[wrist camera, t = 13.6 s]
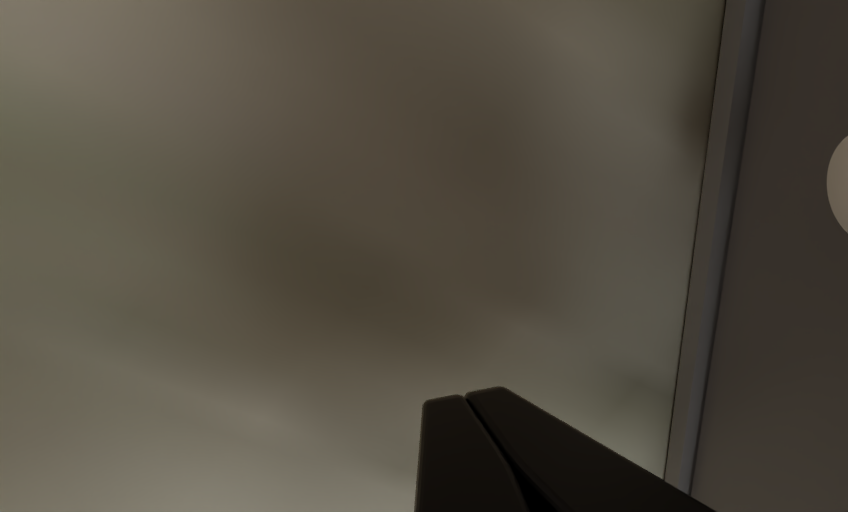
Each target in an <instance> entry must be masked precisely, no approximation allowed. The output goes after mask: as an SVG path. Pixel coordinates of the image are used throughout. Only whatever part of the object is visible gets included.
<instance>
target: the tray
mask: <svg viewBox="0 0 848 512" xmlns="http://www.w3.org/2000/svg"><path fill="white" fill-rule="evenodd" d="M691 497H693V498H695V499H696V500H698V501H700V502H702V503H703V504H705V505H707V506H708V507H710V508H712V509H714V510H715V511H717V512H848V0H766V3H765V10H764V17H763V23H762V30H761V36H760V43H759V50H758V56H757V63H756V69H755V76H754V83H753V89H752V96H751V102H750V109H749V116H748V122H747V129H746V135H745V142H744V149H743V155H742V162H741V168H740V175H739V182H738V188H737V195H736V201H735V208H734V215H733V221H732V228H731V234H730V241H729V248H728V254H727V261H726V267H725V274H724V281H723V287H722V294H721V300H720V307H719V314H718V320H717V327H716V333H715V340H714V347H713V353H712V360H711V366H710V373H709V380H708V386H707V393H706V399H705V406H704V413H703V419H702V426H701V432H700V439H699V446H698V452H697V459H696V465H695V472H694V479H693V485H692V492H691Z"/></svg>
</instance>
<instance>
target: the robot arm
mask: <svg viewBox="0 0 848 512" xmlns="http://www.w3.org/2000/svg"><path fill="white" fill-rule="evenodd" d="M414 512H717V511H715V510H714V509H712V508H710V507H708V506H707V505H705V504H703V503H702V502H700V501H698V500H696V499H695V498H693V497H691V496H690V495H688V494H686V493H684V492H683V491H681V490H679V489H678V488H676V487H674V486H673V485H671V484H669V483H667V482H666V481H664V480H662V479H661V478H659V477H657V476H655V475H654V474H652V473H650V472H649V471H647V470H645V469H643V468H642V467H640V466H638V465H637V464H635V463H633V462H632V461H630V460H628V459H626V458H625V457H623V456H621V455H620V454H618V453H616V452H614V451H613V450H611V449H609V448H608V447H606V446H604V445H603V444H601V443H599V442H597V441H596V440H594V439H592V438H591V437H589V436H587V435H585V434H584V433H582V432H580V431H579V430H577V429H575V428H573V427H572V426H570V425H568V424H567V423H565V422H563V421H562V420H560V419H558V418H556V417H555V416H553V415H551V414H550V413H548V412H546V411H544V410H543V409H541V408H539V407H538V406H536V405H534V404H533V403H531V402H529V401H527V400H526V399H524V398H522V397H521V396H519V395H517V394H515V393H514V392H512V391H510V390H509V389H507V388H504V387H492V388H487V389H482V390H476V391H471V392H468V393H467V394H466V395H465V396H464V397H463V396H461V395H450V396H445V397H440V398H434V399H429V400H426V401H425V402H424V404H423V407H422V418H421V431H420V443H419V456H418V468H417V481H416V493H415V506H414Z"/></svg>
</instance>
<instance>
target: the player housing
mask: <svg viewBox="0 0 848 512" xmlns="http://www.w3.org/2000/svg"><path fill="white" fill-rule="evenodd" d="M765 3H766V0H727V1H726V9H725V17H724V25H723V32H722V40H721V48H720V55H719V63H718V71H717V79H716V86H715V94H714V102H713V110H712V117H711V125H710V133H709V140H708V148H707V156H706V164H705V171H704V179H703V187H702V195H701V202H700V210H699V218H698V226H697V233H696V241H695V249H694V256H693V264H692V272H691V280H690V287H689V295H688V303H687V311H686V318H685V326H684V334H683V341H682V349H681V357H680V365H679V372H678V380H677V388H676V396H675V403H674V411H673V419H672V426H671V434H670V442H669V450H668V457H667V465H666V473H665V481H666V482H667V483H669V484H671V485H673V486H674V487H676V488H678V489H679V490H681V491H683V492H684V493H686V494H688V495H690V496H691V492H692V485H693V479H694V472H695V465H696V459H697V452H698V446H699V439H700V432H701V426H702V419H703V413H704V406H705V399H706V393H707V386H708V380H709V373H710V366H711V360H712V353H713V347H714V340H715V333H716V327H717V320H718V314H719V307H720V300H721V294H722V287H723V281H724V274H725V267H726V261H727V254H728V248H729V241H730V234H731V228H732V221H733V215H734V208H735V201H736V195H737V188H738V182H739V175H740V168H741V162H742V155H743V149H744V142H745V135H746V129H747V122H748V116H749V109H750V102H751V96H752V89H753V83H754V76H755V69H756V63H757V56H758V50H759V43H760V36H761V30H762V23H763V17H764V10H765Z"/></svg>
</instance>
